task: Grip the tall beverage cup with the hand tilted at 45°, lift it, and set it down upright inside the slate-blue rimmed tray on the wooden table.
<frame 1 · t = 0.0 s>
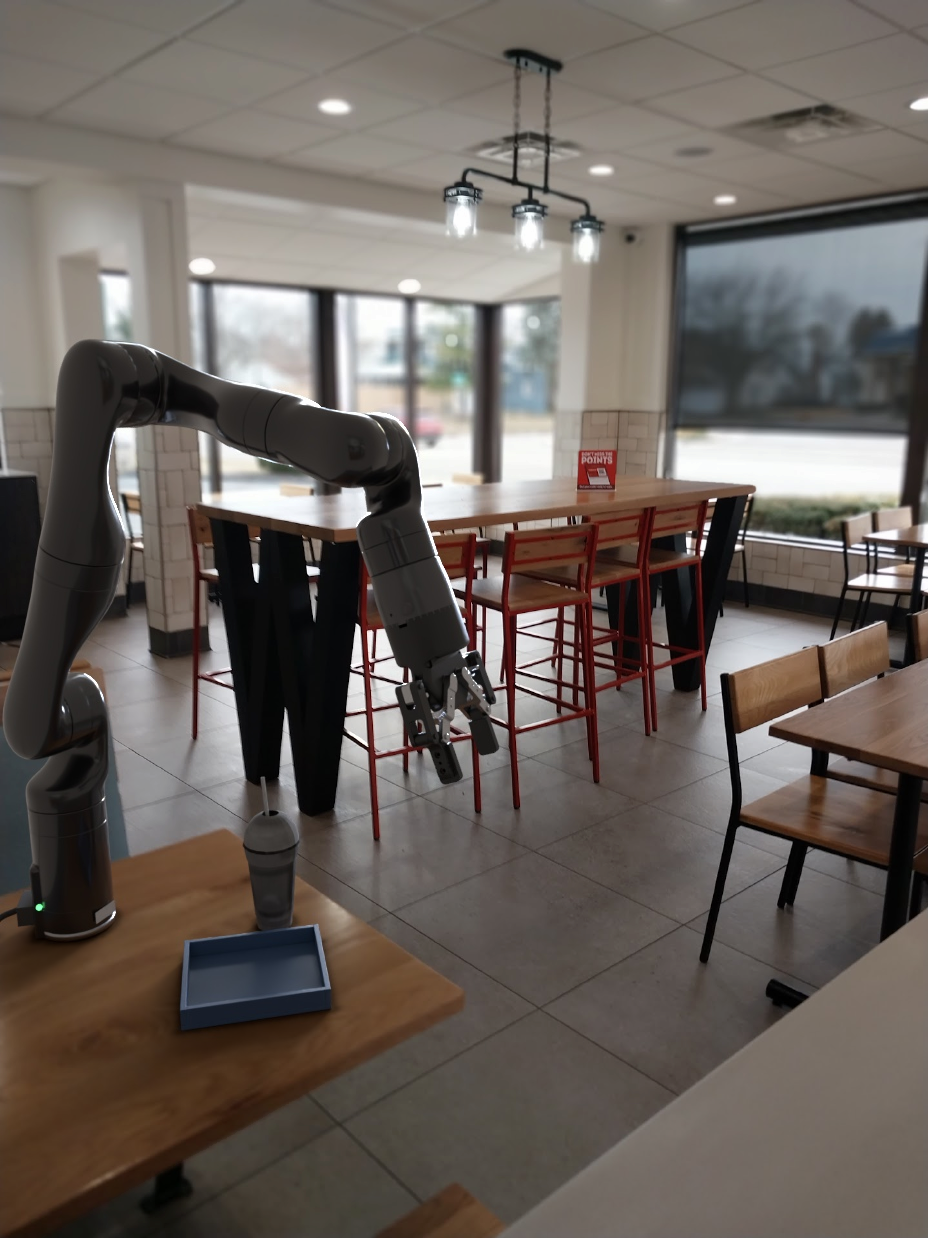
hand: (472, 767, 93), 31 cm above the table, tool tilted 20°, fingers open, 8 cm apart
beverage cup: (275, 924, 124), on the table
tray: (255, 983, 111), on the table
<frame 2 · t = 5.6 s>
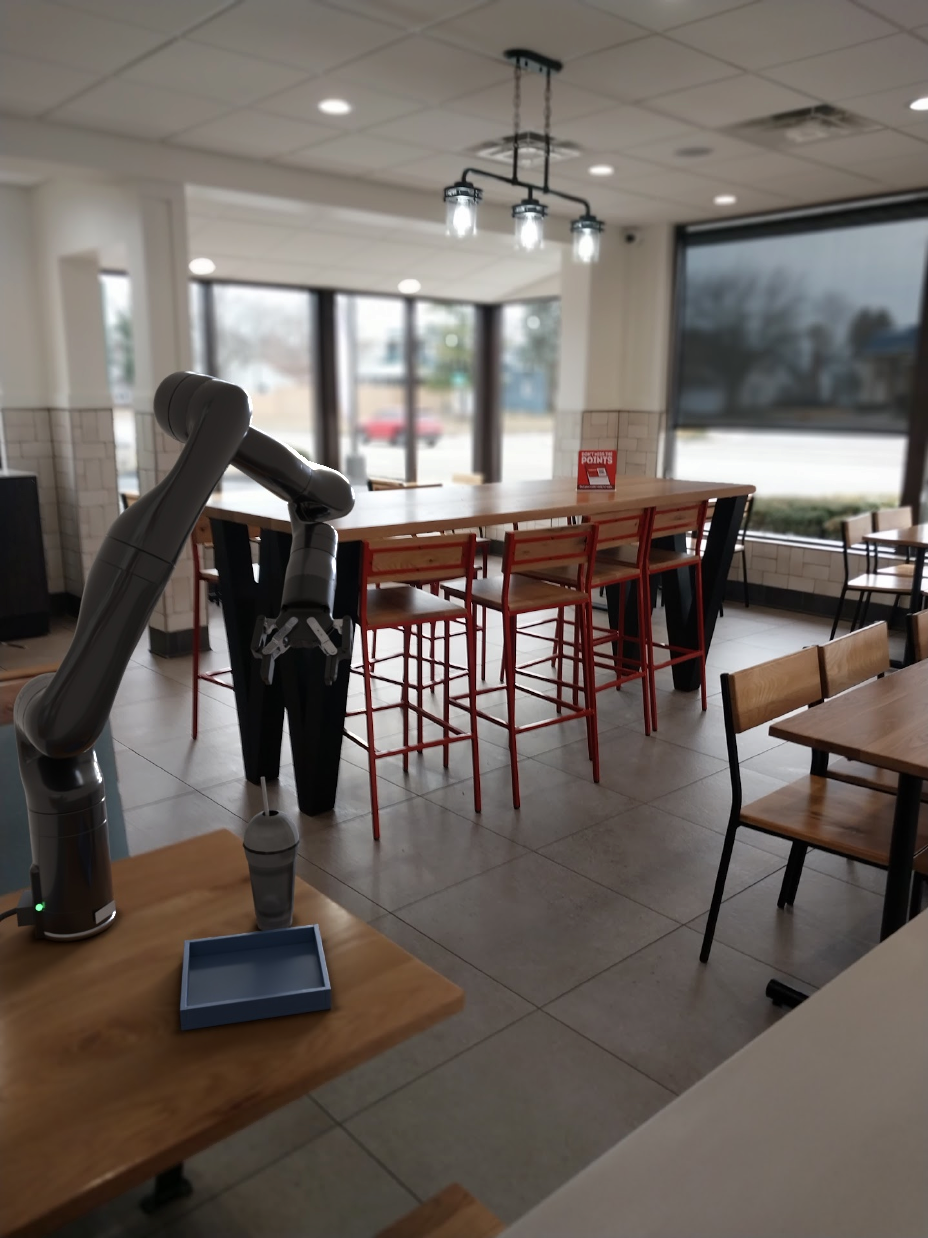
hand: (297, 682, 133), 28 cm above the table, tool tilted 45°, fingers open, 8 cm apart
nothing on the table moved.
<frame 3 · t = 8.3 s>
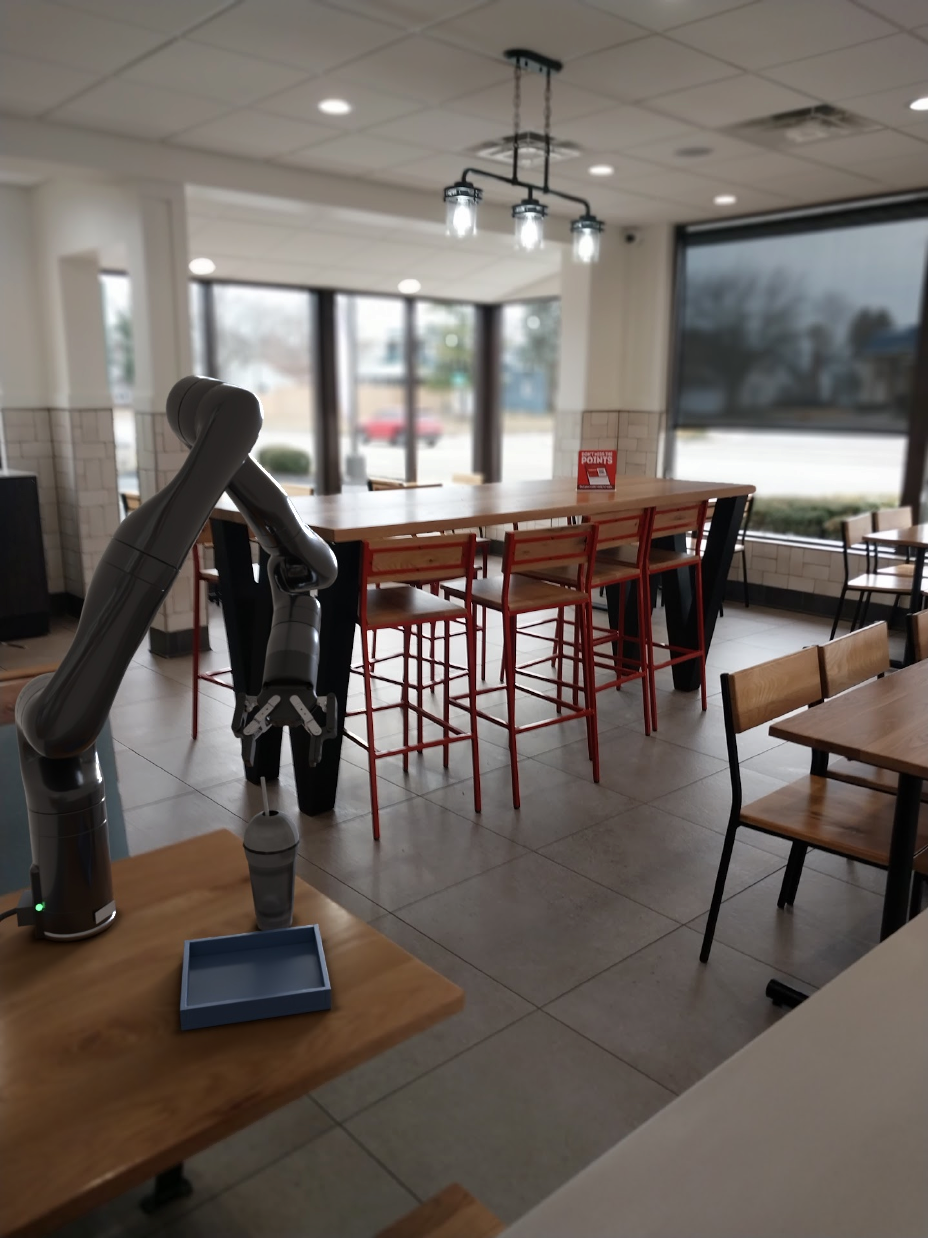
hand: (280, 764, 128), 19 cm above the table, tool tilted 45°, fingers open, 8 cm apart
nothing on the table moved.
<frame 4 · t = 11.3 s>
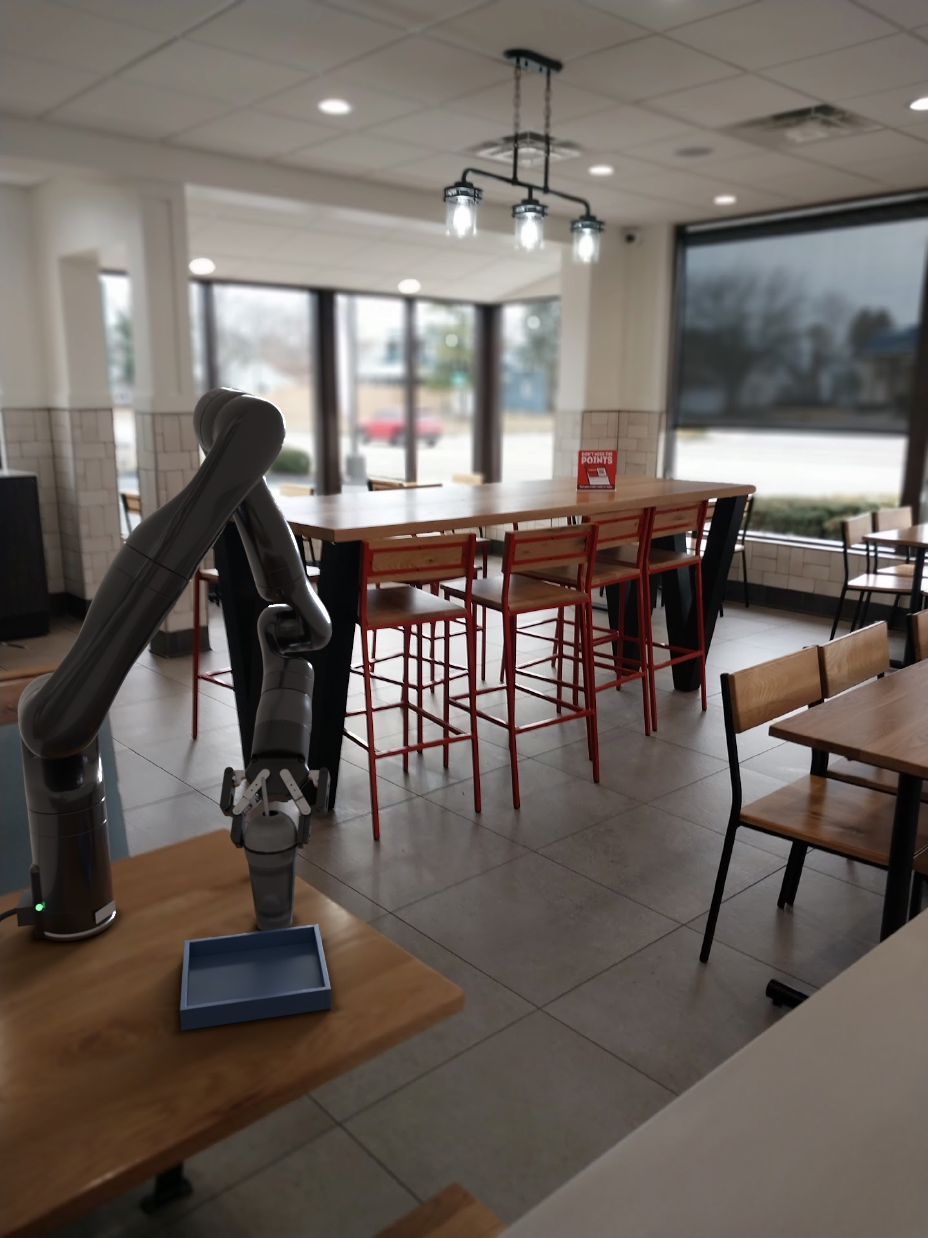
hand: (269, 846, 120), 12 cm above the table, tool tilted 45°, fingers closed on beverage cup, 7 cm apart
beverage cup: (274, 924, 124), on the table, touching gripper
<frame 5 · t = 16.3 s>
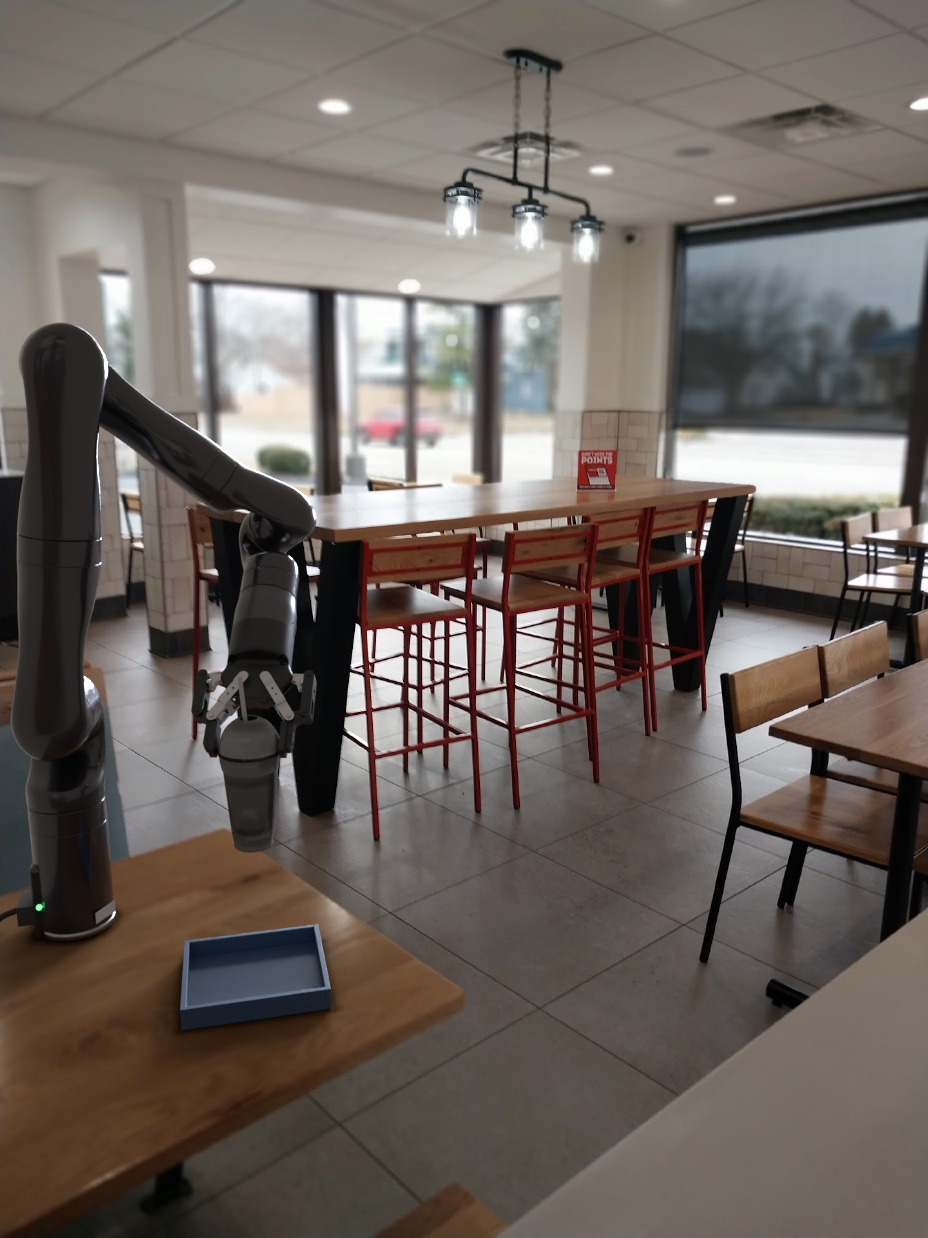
hand: (247, 755, 107), 28 cm above the table, tool tilted 45°, fingers closed on beverage cup, 7 cm apart
beverage cup: (253, 845, 111), point 16 cm above the table, touching gripper
when the fingers open (12 cm above the table, at t = 21.4 s): beverage cup stays where it is, resting on tray.
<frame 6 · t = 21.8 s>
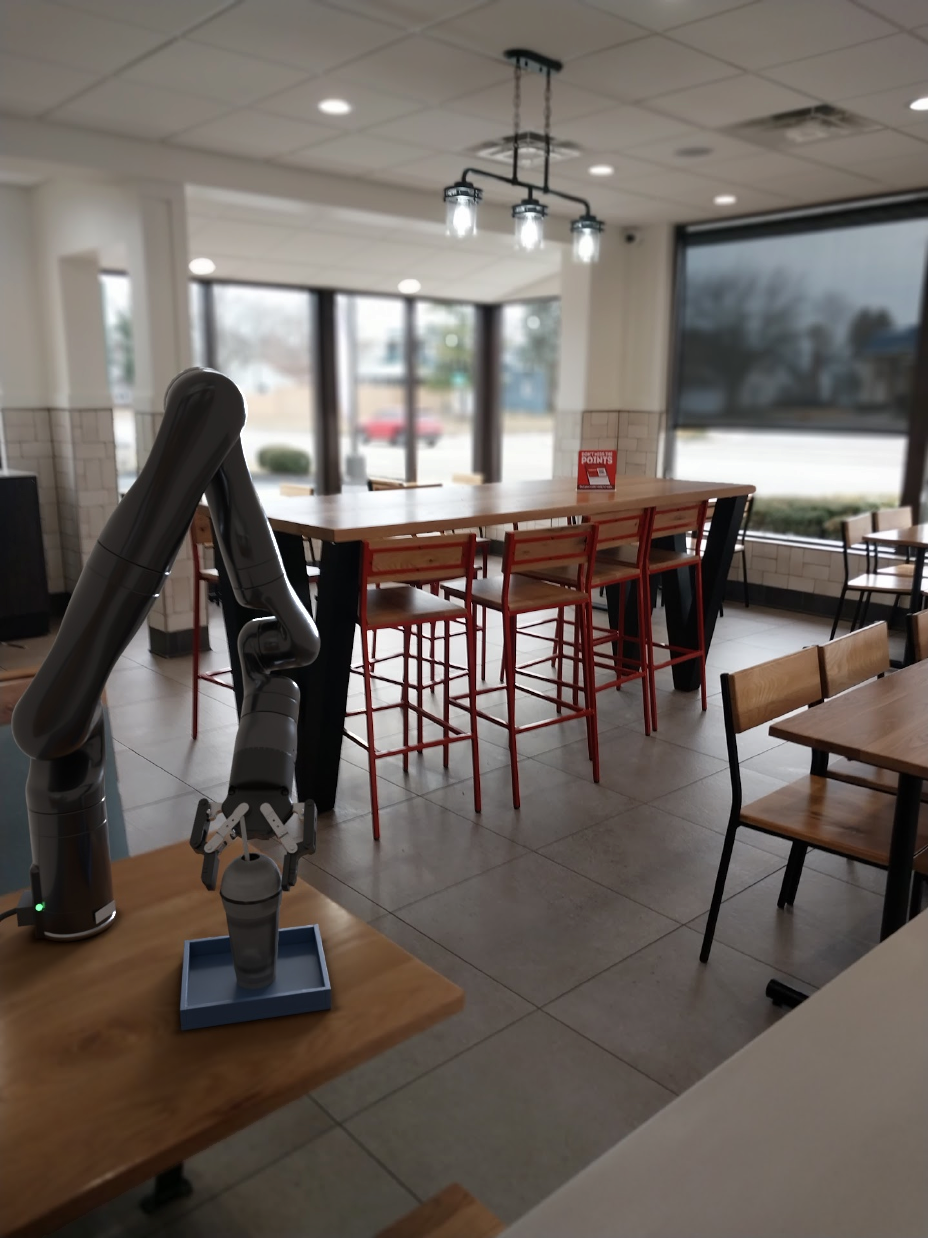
hand: (247, 889, 107), 13 cm above the table, tool tilted 45°, fingers open, 8 cm apart
beverage cup: (256, 979, 111), resting on tray
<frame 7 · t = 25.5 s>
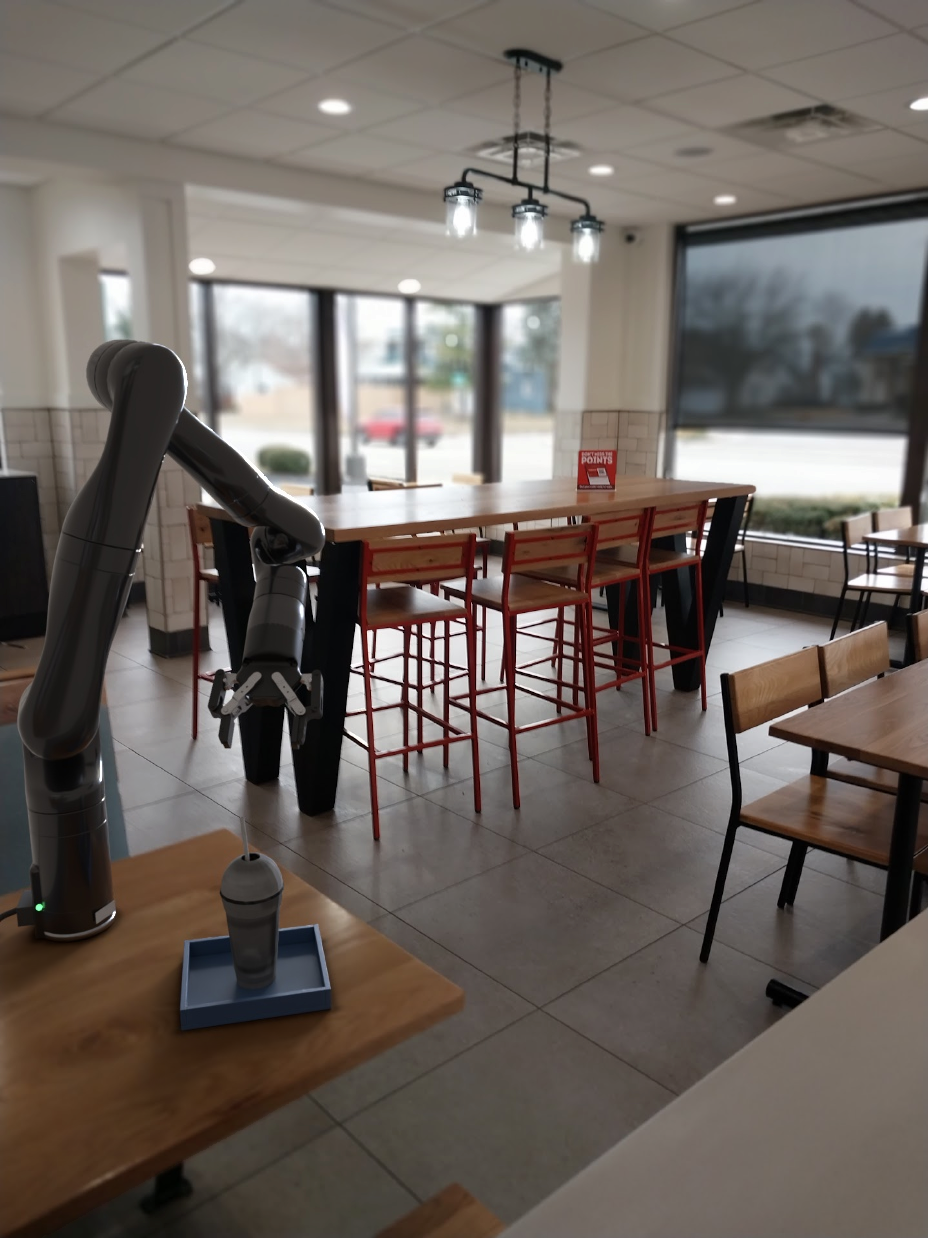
hand: (260, 746, 118), 25 cm above the table, tool tilted 45°, fingers open, 8 cm apart
nothing on the table moved.
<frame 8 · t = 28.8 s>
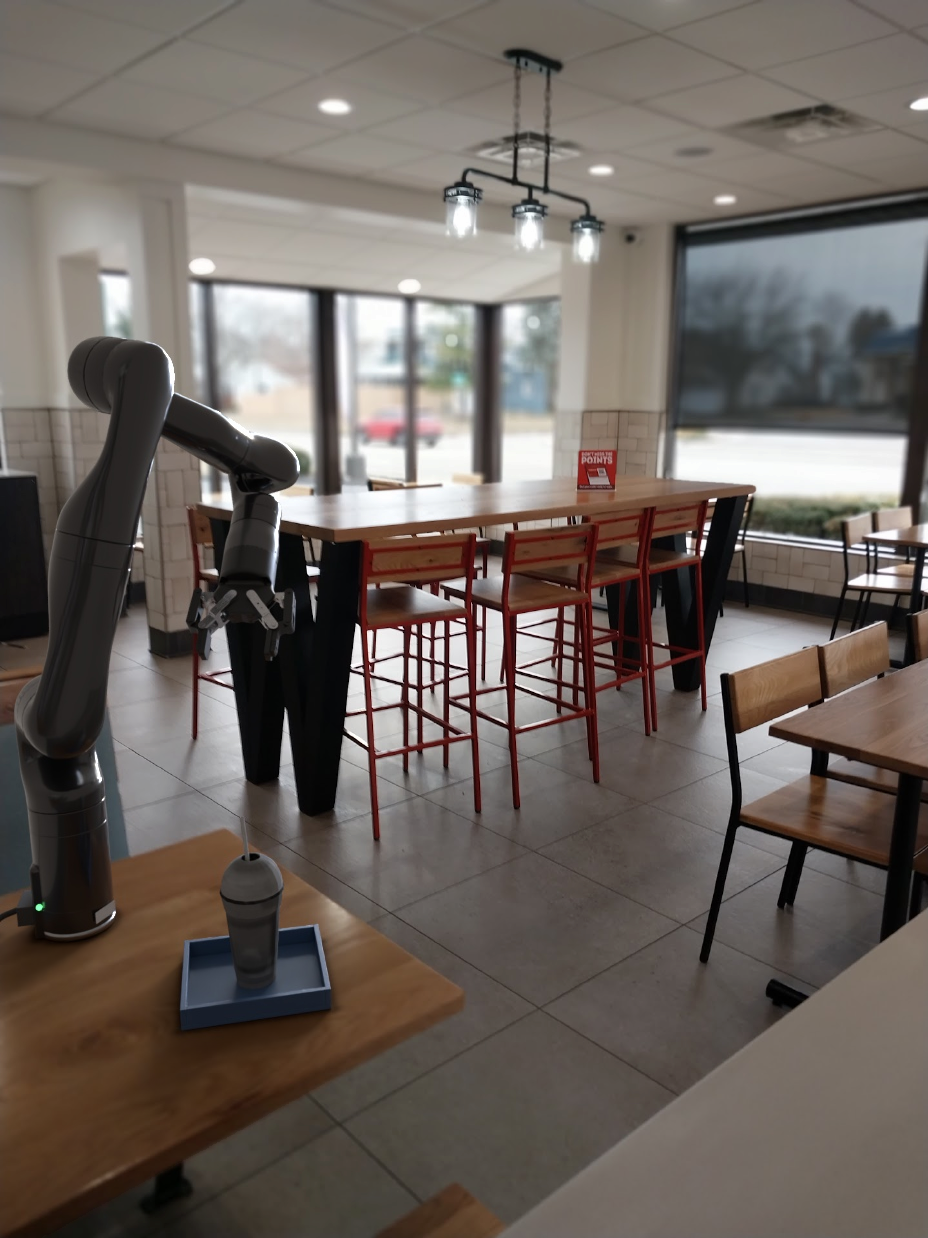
hand: (235, 657, 125), 34 cm above the table, tool tilted 45°, fingers open, 8 cm apart
nothing on the table moved.
at the end: beverage cup inside the target area in the tray (0.1 cm from its centre), point 0.3 cm above the tray's base; beverage cup tilted 0°; the gripper is holding nothing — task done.
